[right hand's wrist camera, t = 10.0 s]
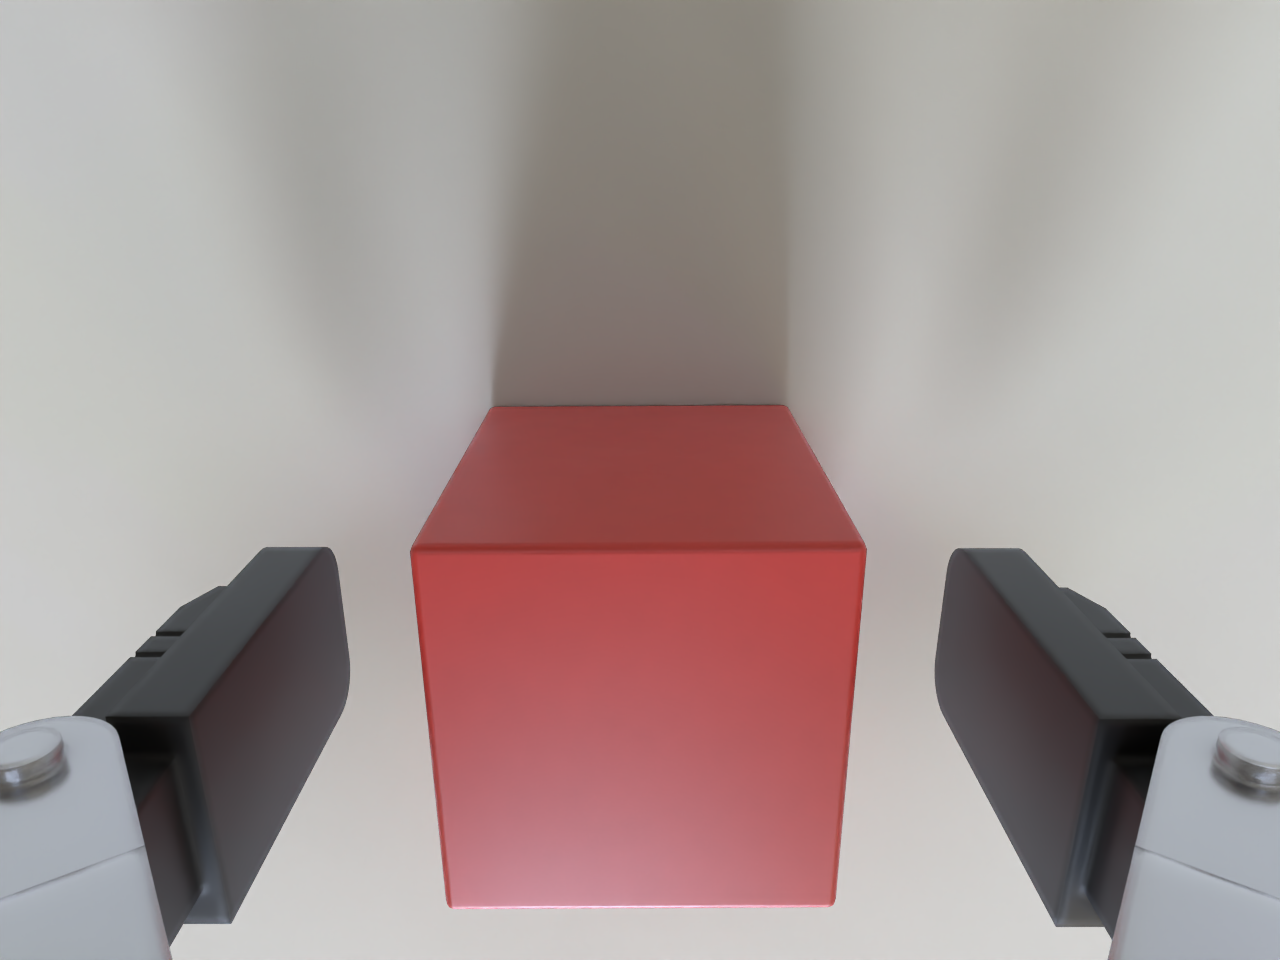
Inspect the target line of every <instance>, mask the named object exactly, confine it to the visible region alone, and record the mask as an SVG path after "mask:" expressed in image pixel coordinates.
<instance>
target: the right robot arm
mask: <svg viewBox="0 0 1280 960" xmlns="http://www.w3.org/2000/svg"><path fill="white" fill-rule="evenodd" d="M349 681H350V660H349V651H348V643H347V636H346V628H345V620H344V612H343V604H342V597H341V589H340V581H339V573H338V567H337V562H336V559H335V556H334V554H333V552H332V551H331V549H330V548H328V547H266V548H263V549H262V550H261V551H260V552H259V553H258V554H257V555H256V556H255V557H254V558H253V559H252V560H251V561H250V562H249V563H248V565H247V566H246V567H245V568H244V569H243V570H242V571H241V572H240V573H239V574H238V575H237V576H236V577H235V578H234V580H233V581H232V582H231V583H230V584H229V585H228V586H218V587H216V588H214V589H213V590H211V591H209V592H207V593H205V594H203V595H202V596H200V597H198V598H196V599H194V600H192V601H191V602H189V603H187V604H185V605H183V606H181V607H180V608H179V609H178V610H177V611H176V612H175V613H174V614H173V615H172V616H171V617H170V618H169V619H168V620H167V621H166V622H165V623H164V624H163V625H162V626H161V627H160V628H159V629H158V630H157V631H156V636H151V637H150V638H149V639H148V640H147V641H146V642H145V643H144V644H143V645H142V646H141V647H140V648H139V649H138V650H137V651H136V656H135V657H130V658H129V659H128V660H127V661H126V662H125V663H124V664H123V665H122V666H121V667H120V668H119V669H118V670H117V671H116V672H115V673H114V674H113V675H112V676H111V677H110V678H109V679H108V680H107V681H106V682H105V683H104V684H103V685H102V686H101V687H100V688H99V689H98V690H97V691H96V692H95V693H94V694H93V695H92V696H91V697H90V698H89V699H88V700H87V701H86V702H85V703H84V704H83V705H82V706H81V707H80V708H79V709H78V710H77V711H76V712H75V713H74V714H73V715H72V716H63V717H53V718H47V719H41V720H37V721H33V722H28V723H24V724H21V725H18V726H15V727H12V728H9V729H6V730H4V731H1V732H0V960H172V956H171V952H170V948H169V947H170V946H171V944H172V942H173V940H174V939H175V937H176V935H177V934H178V932H179V930H180V928H181V927H182V925H183V924H231V923H232V921H233V919H234V917H235V915H236V914H237V912H238V910H239V908H240V906H241V904H242V902H243V900H244V898H245V896H246V895H247V893H248V891H249V889H250V887H251V885H252V883H253V881H254V879H255V877H256V875H257V874H258V872H259V870H260V868H261V866H262V864H263V862H264V860H265V858H266V856H267V855H268V853H269V851H270V849H271V847H272V845H273V843H274V841H275V839H276V837H277V836H278V834H279V832H280V830H281V828H282V826H283V824H284V822H285V820H286V818H287V816H288V815H289V813H290V811H291V809H292V807H293V805H294V803H295V801H296V799H297V797H298V796H299V794H300V792H301V790H302V788H303V786H304V784H305V782H306V780H307V778H308V777H309V775H310V773H311V771H312V769H313V767H314V765H315V763H316V761H317V759H318V757H319V756H320V754H321V752H322V750H323V748H324V746H325V744H326V742H327V740H328V738H329V737H330V735H331V733H332V731H333V729H334V727H335V725H336V723H337V721H338V719H339V718H340V716H341V714H342V712H343V709H344V706H345V704H346V700H347V695H348V690H349ZM935 686H936V693H937V698H938V702H939V706H940V709H941V711H942V713H943V716H944V717H945V719H946V721H947V723H948V725H949V727H950V729H951V731H952V732H953V734H954V736H955V738H956V740H957V742H958V744H959V746H960V747H961V749H962V751H963V753H964V755H965V757H966V759H967V761H968V762H969V764H970V766H971V768H972V770H973V772H974V774H975V776H976V778H977V779H978V781H979V783H980V785H981V787H982V789H983V791H984V793H985V794H986V796H987V798H988V800H989V802H990V804H991V806H992V808H993V809H994V811H995V813H996V815H997V817H998V819H999V821H1000V823H1001V824H1002V826H1003V828H1004V830H1005V832H1006V834H1007V836H1008V838H1009V839H1010V841H1011V843H1012V845H1013V847H1014V849H1015V851H1016V853H1017V855H1018V856H1019V858H1020V860H1021V862H1022V864H1023V866H1024V868H1025V870H1026V871H1027V873H1028V875H1029V877H1030V879H1031V881H1032V883H1033V885H1034V886H1035V888H1036V890H1037V892H1038V894H1039V896H1040V898H1041V900H1042V901H1043V903H1044V905H1045V907H1046V909H1047V911H1048V913H1049V915H1050V916H1051V918H1052V920H1053V922H1054V924H1055V926H1056V927H1105V929H1106V930H1107V932H1108V934H1109V935H1110V937H1111V939H1112V944H1111V948H1110V952H1109V956H1108V960H1280V732H1279V731H1276V730H1274V729H1271V728H1268V727H1265V726H1262V725H1259V724H1256V723H1252V722H1247V721H1243V720H1239V719H1233V718H1227V717H1217V716H1213V715H1212V714H1211V713H1210V712H1209V711H1208V710H1207V709H1206V708H1205V707H1204V706H1203V705H1202V704H1201V703H1200V702H1199V701H1198V700H1197V699H1196V698H1195V697H1194V696H1193V695H1192V694H1191V693H1190V692H1189V691H1188V690H1187V689H1186V688H1185V687H1184V686H1183V685H1182V684H1181V683H1180V682H1179V681H1178V680H1177V679H1176V678H1175V677H1174V676H1173V675H1172V674H1171V673H1170V672H1169V671H1168V670H1167V669H1166V668H1165V667H1164V666H1163V665H1162V664H1161V663H1160V662H1159V661H1158V660H1157V659H1151V653H1150V652H1149V651H1148V650H1147V649H1146V648H1145V647H1144V646H1143V645H1142V644H1141V643H1140V642H1139V641H1138V640H1137V639H1136V638H1131V637H1130V632H1129V631H1128V630H1127V629H1126V628H1125V627H1124V626H1123V625H1122V624H1121V623H1120V622H1119V621H1118V620H1117V619H1116V618H1115V617H1114V616H1113V615H1112V614H1111V613H1110V612H1109V611H1108V610H1107V609H1106V608H1104V607H1102V606H1100V605H1098V604H1096V603H1094V602H1093V601H1091V600H1089V599H1087V598H1085V597H1083V596H1082V595H1080V594H1078V593H1076V592H1074V591H1072V590H1071V589H1069V588H1059V587H1058V586H1057V585H1056V584H1055V583H1054V582H1053V581H1052V580H1051V579H1050V578H1049V577H1048V576H1047V575H1046V574H1045V573H1044V571H1043V570H1042V569H1041V568H1040V567H1039V566H1038V565H1037V564H1036V563H1035V562H1034V561H1033V560H1032V559H1031V558H1030V557H1029V556H1028V555H1027V554H1026V552H1024V551H1023V550H1022V549H1019V548H958V549H956V550H955V551H954V552H953V553H952V555H951V557H950V560H949V563H948V568H947V574H946V582H945V589H944V597H943V605H942V612H941V620H940V628H939V635H938V643H937V651H936V658H935Z"/></svg>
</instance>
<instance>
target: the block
mask: <svg viewBox="0 0 1280 960" xmlns="http://www.w3.org/2000/svg"><path fill="white" fill-rule="evenodd" d="M866 553H867V549H866V546H865V543H864V541H863V540H862V538H861V536H860V534H859V532H858V531H857V529H856V527H855V525H854V524H853V522H852V520H851V518H850V517H849V515H848V513H847V511H846V509H845V508H844V506H843V504H842V502H841V501H840V499H839V497H838V495H837V494H836V492H835V490H834V488H833V486H832V485H831V483H830V481H829V479H828V478H827V476H826V474H825V472H824V471H823V469H822V467H821V465H820V463H819V462H818V460H817V458H816V456H815V455H814V453H813V451H812V449H811V448H810V446H809V444H808V442H807V440H806V439H805V437H804V435H803V433H802V432H801V430H800V428H799V426H798V425H797V423H796V421H795V419H794V417H793V416H792V414H791V412H790V410H789V409H788V407H786V406H784V405H729V406H557V407H493V408H491V409H490V410H489V412H488V413H487V415H486V417H485V419H484V420H483V422H482V424H481V426H480V427H479V429H478V431H477V433H476V434H475V436H474V438H473V440H472V442H471V443H470V445H469V447H468V449H467V450H466V452H465V454H464V456H463V457H462V459H461V461H460V463H459V464H458V466H457V468H456V470H455V471H454V473H453V475H452V477H451V478H450V480H449V482H448V484H447V485H446V487H445V489H444V491H443V492H442V494H441V496H440V498H439V500H438V501H437V503H436V505H435V507H434V508H433V510H432V512H431V514H430V515H429V517H428V519H427V521H426V522H425V524H424V526H423V528H422V529H421V531H420V533H419V535H418V536H417V538H416V540H415V542H414V543H413V545H412V548H411V551H410V556H411V565H412V575H413V585H414V594H415V604H416V613H417V623H418V633H419V642H420V652H421V662H422V671H423V681H424V691H425V700H426V710H427V720H428V729H429V739H430V748H431V758H432V768H433V777H434V787H435V797H436V806H437V816H438V826H439V835H440V845H441V855H442V864H443V874H444V884H445V893H446V901H447V904H448V906H449V907H450V908H453V909H524V908H736V907H830V906H832V905H833V904H834V902H835V898H836V889H837V878H838V866H839V855H840V844H841V833H842V822H843V810H844V799H845V788H846V777H847V766H848V754H849V743H850V732H851V721H852V710H853V698H854V687H855V676H856V665H857V653H858V642H859V631H860V620H861V609H862V597H863V586H864V575H865V564H866Z"/></svg>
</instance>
